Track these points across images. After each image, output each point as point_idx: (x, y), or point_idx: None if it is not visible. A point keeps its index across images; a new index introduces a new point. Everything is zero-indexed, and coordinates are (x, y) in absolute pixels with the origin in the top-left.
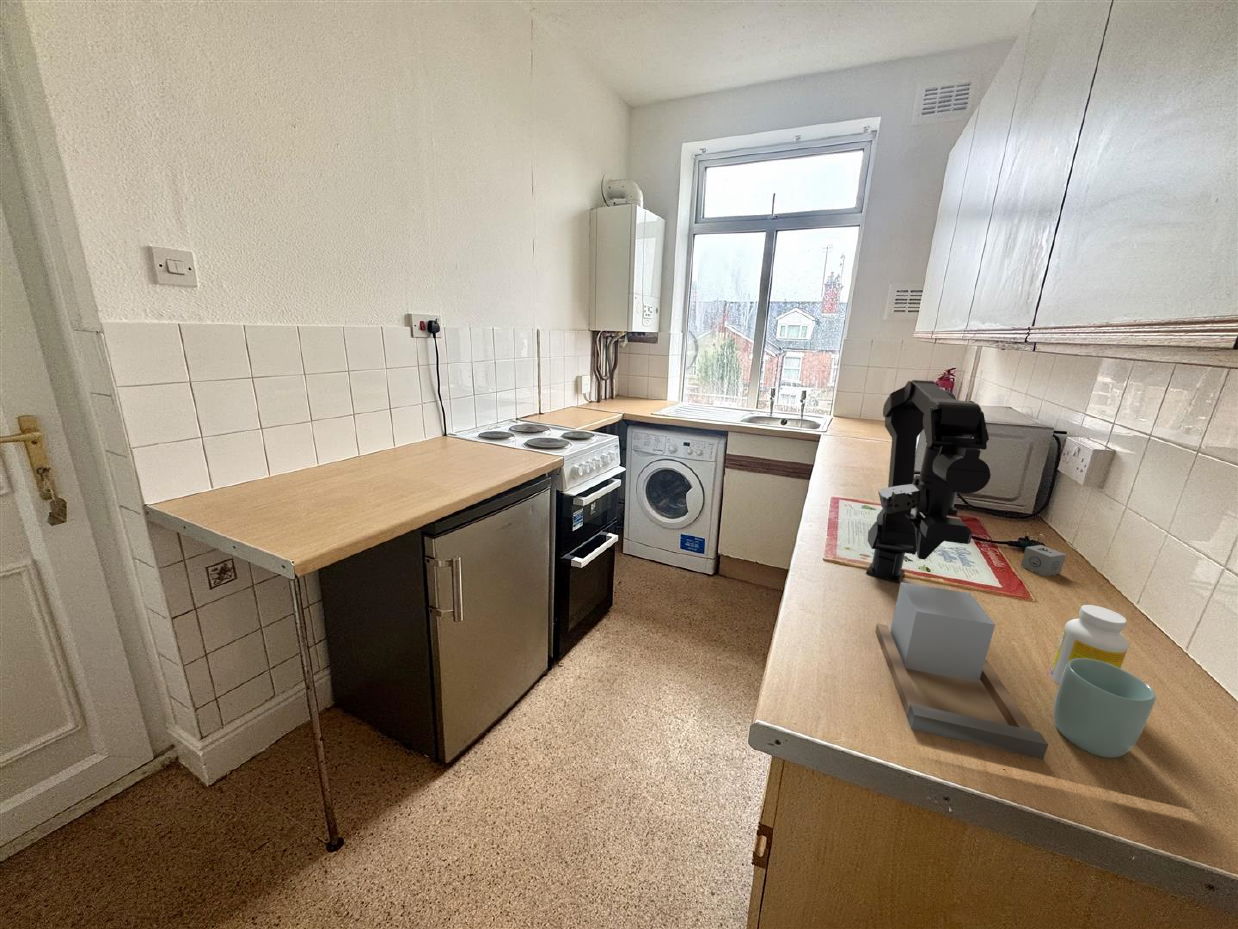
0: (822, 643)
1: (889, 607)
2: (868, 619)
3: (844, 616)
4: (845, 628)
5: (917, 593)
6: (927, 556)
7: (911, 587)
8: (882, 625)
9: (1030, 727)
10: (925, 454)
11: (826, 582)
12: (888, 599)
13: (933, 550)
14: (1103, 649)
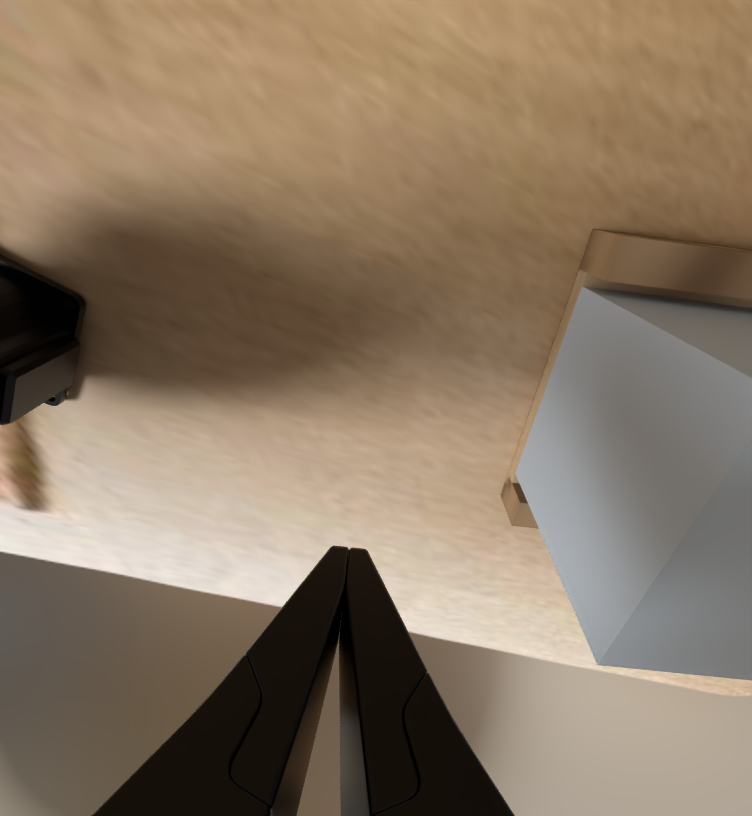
0: (542, 601)
1: (317, 401)
2: (413, 485)
3: (410, 536)
4: (472, 548)
5: (717, 645)
6: (374, 570)
7: (654, 646)
8: (522, 515)
9: None
10: None
11: (213, 535)
12: (255, 385)
13: (403, 625)
14: None
